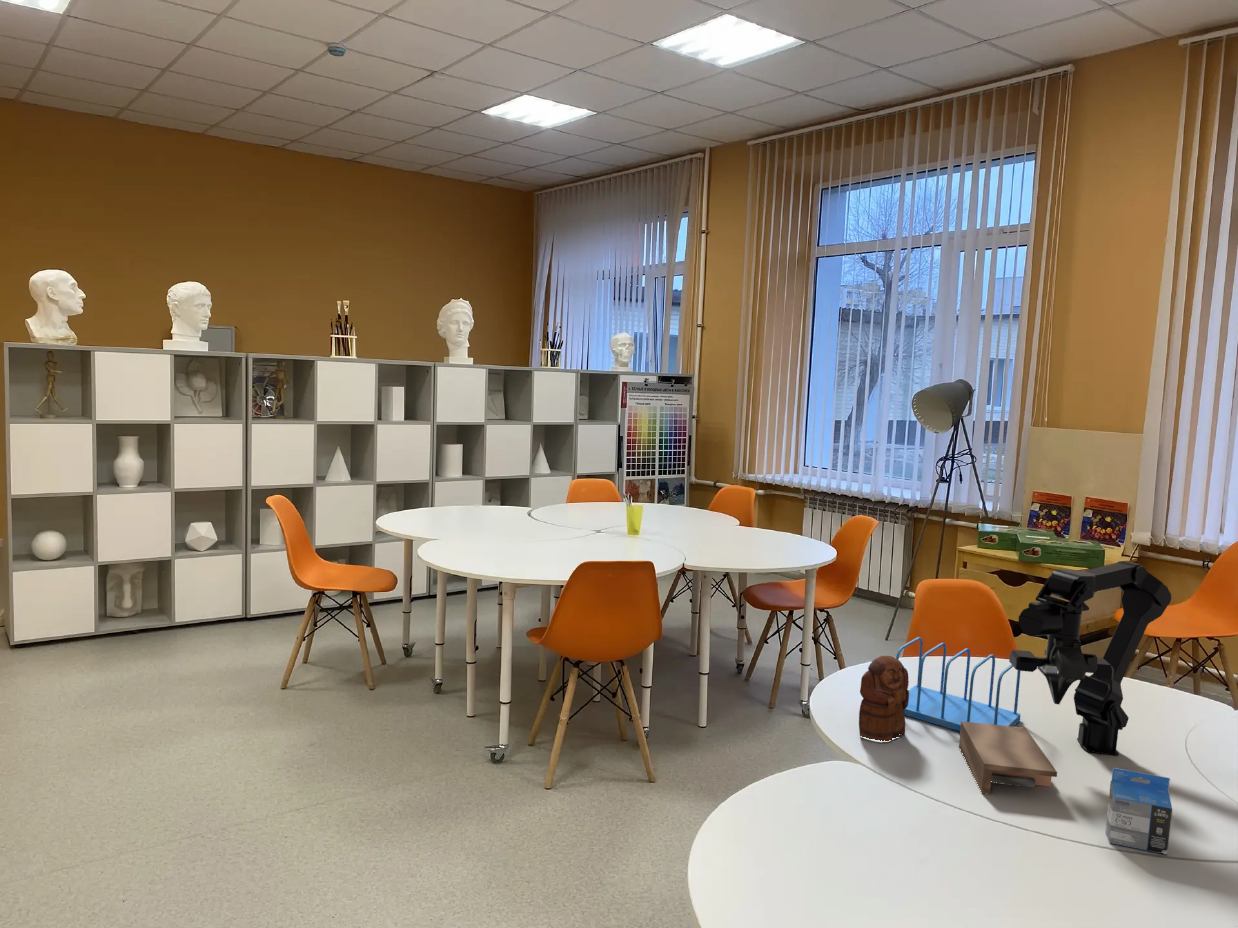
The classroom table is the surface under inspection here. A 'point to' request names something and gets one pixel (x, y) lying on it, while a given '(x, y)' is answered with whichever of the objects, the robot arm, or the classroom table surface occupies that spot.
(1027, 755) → the low shelf
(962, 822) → the classroom table surface
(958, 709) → the file sorter
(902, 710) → the wooden figurine
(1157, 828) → the label tape box
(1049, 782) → the pink slab with nub
